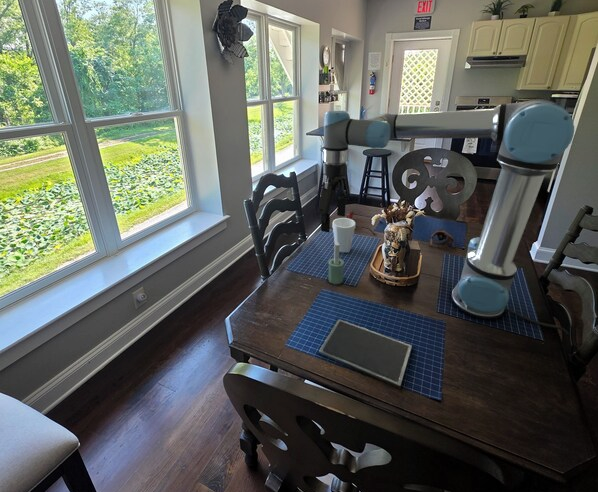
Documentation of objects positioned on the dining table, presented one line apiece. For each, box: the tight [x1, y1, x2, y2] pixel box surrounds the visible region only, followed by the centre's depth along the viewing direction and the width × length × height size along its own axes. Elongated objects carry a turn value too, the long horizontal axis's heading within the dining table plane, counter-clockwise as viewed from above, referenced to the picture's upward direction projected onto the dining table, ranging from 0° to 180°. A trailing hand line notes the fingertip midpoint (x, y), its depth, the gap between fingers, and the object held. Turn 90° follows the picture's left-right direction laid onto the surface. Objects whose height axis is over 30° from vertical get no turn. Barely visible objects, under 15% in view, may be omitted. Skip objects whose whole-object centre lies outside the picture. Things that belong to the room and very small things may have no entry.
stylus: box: [333, 242, 340, 265], centre depth 115 cm, size 2×2×15 cm
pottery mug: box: [429, 228, 455, 249], centre depth 140 cm, size 12×10×8 cm
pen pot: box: [327, 257, 345, 285], centre depth 117 cm, size 5×5×8 cm
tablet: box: [318, 318, 413, 389], centre depth 88 cm, size 22×14×1 cm, turn 61°
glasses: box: [345, 211, 383, 236], centre depth 159 cm, size 14×16×5 cm
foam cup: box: [331, 217, 356, 254], centre depth 136 cm, size 10×9×13 cm
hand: (333, 223), depth 109 cm, fingers open, 13 cm apart
